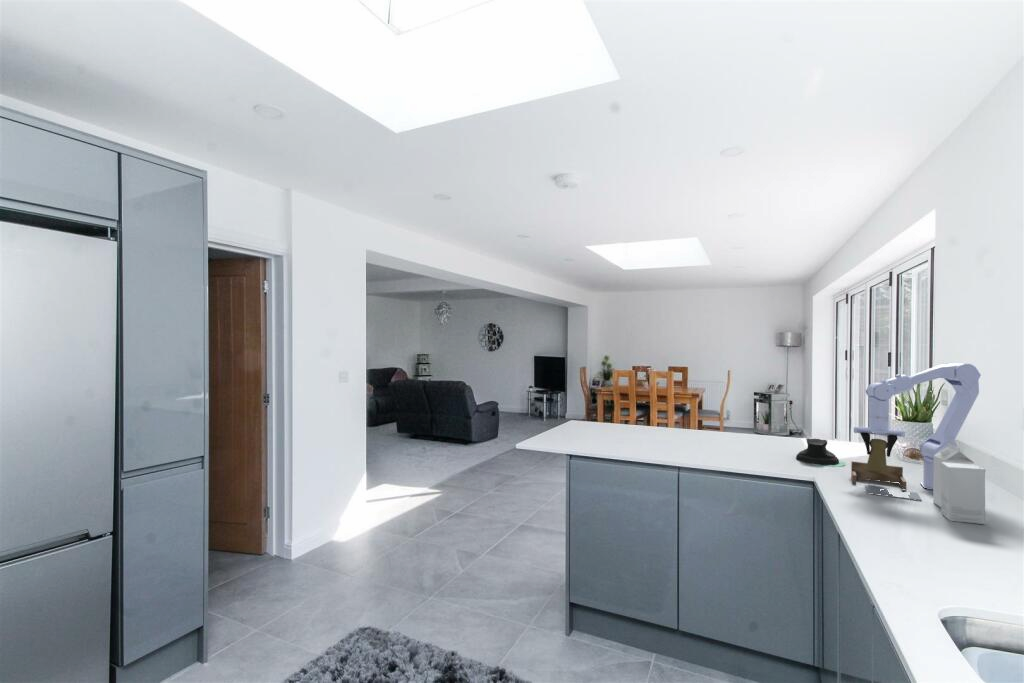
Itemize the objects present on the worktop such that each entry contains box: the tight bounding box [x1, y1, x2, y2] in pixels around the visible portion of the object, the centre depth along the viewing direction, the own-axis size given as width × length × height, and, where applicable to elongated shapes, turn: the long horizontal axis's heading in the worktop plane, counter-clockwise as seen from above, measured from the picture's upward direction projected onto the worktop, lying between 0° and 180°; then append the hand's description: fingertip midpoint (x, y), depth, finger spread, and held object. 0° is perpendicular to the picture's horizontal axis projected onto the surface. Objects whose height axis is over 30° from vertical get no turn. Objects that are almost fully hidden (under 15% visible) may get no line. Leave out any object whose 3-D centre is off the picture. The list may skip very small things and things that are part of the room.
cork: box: [866, 438, 888, 472], centre depth 176 cm, size 6×6×11 cm
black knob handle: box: [795, 437, 847, 468], centre depth 210 cm, size 20×20×9 cm
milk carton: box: [932, 443, 975, 508], centre depth 151 cm, size 7×7×19 cm
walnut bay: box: [850, 461, 907, 490], centre depth 177 cm, size 15×10×6 cm, turn 58°
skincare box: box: [940, 462, 986, 525], centre depth 141 cm, size 8×7×16 cm
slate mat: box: [865, 485, 923, 501], centre depth 165 cm, size 14×9×1 cm, turn 58°
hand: (878, 455), depth 176 cm, fingers closed on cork, 5 cm apart
